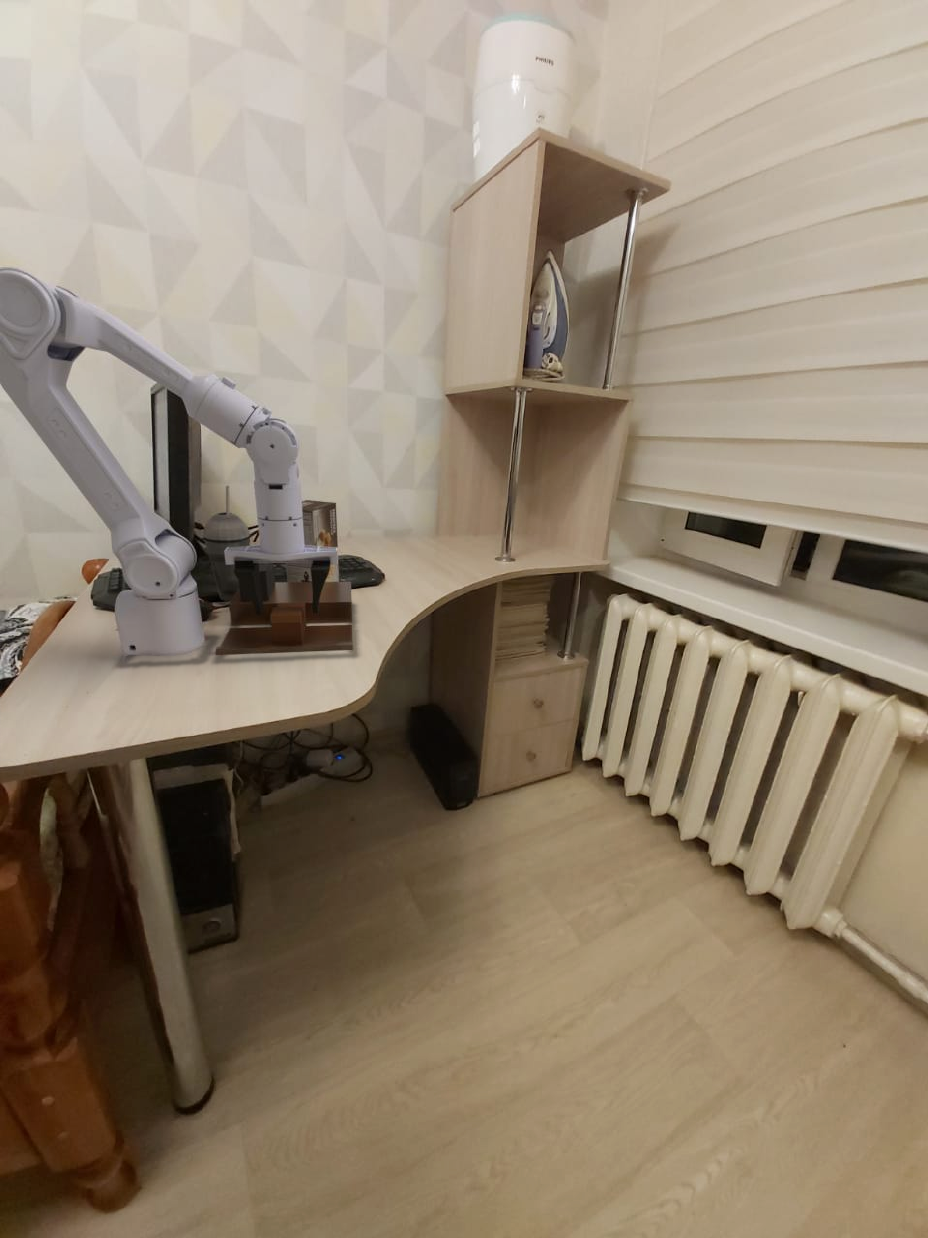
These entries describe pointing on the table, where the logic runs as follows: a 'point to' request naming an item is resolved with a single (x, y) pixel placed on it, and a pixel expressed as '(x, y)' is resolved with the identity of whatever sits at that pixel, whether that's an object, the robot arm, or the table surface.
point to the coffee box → (316, 538)
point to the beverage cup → (218, 537)
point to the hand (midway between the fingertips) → (288, 611)
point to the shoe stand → (317, 638)
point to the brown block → (288, 623)
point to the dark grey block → (261, 583)
